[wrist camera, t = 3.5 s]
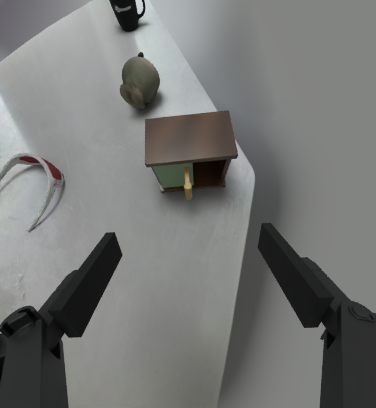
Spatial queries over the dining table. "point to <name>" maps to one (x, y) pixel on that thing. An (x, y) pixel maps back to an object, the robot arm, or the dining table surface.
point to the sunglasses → (52, 172)
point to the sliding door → (176, 176)
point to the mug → (127, 13)
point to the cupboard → (192, 146)
